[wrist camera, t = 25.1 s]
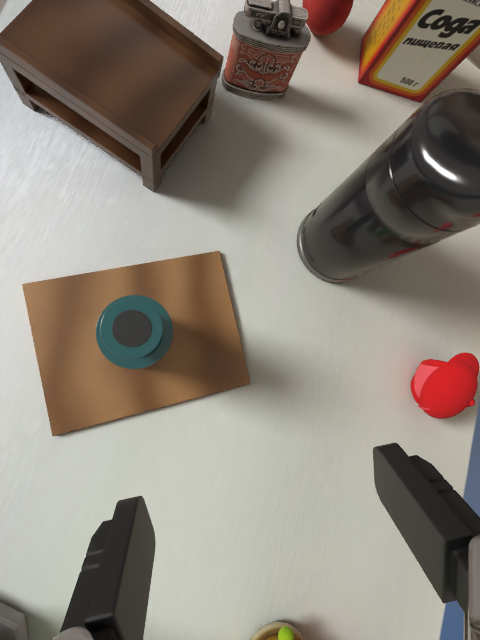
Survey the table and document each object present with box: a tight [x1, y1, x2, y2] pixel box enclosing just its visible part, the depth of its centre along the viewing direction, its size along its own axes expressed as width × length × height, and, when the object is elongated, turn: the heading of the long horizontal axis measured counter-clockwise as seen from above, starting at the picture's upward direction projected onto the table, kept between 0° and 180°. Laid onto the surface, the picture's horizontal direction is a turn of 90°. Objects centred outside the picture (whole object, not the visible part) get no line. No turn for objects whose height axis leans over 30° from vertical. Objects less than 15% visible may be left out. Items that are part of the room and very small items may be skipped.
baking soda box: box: [358, 0, 480, 102], centre depth 39 cm, size 10×6×16 cm
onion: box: [303, 0, 353, 35], centre depth 41 cm, size 6×6×8 cm
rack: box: [0, 0, 223, 192], centre depth 34 cm, size 16×12×8 cm
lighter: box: [221, 0, 311, 100], centre depth 37 cm, size 8×3×10 cm, turn 91°
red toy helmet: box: [411, 353, 479, 418], centre depth 40 cm, size 8×6×6 cm
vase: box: [96, 295, 173, 369], centre depth 30 cm, size 6×6×12 cm
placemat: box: [22, 251, 250, 436], centre depth 36 cm, size 20×15×1 cm
